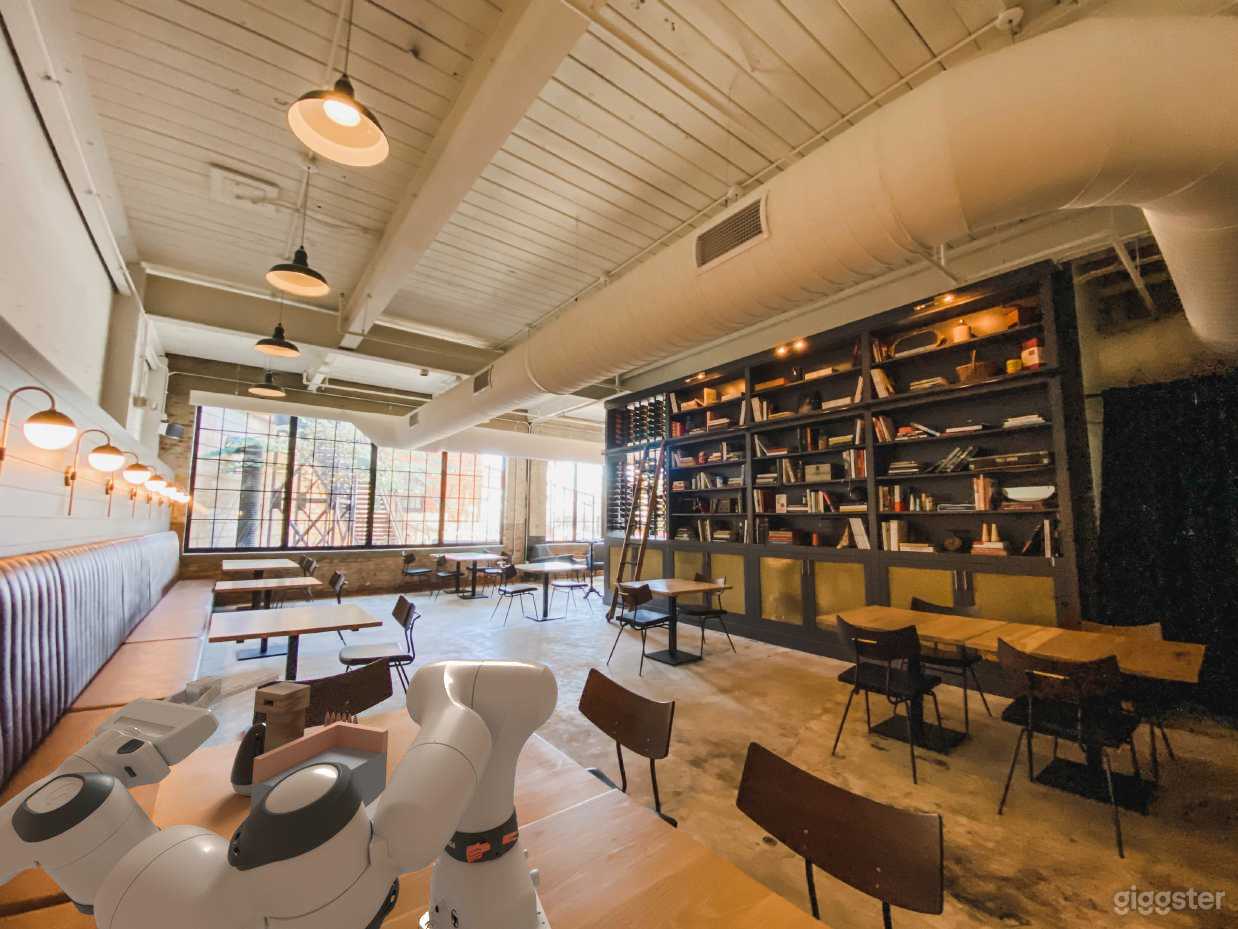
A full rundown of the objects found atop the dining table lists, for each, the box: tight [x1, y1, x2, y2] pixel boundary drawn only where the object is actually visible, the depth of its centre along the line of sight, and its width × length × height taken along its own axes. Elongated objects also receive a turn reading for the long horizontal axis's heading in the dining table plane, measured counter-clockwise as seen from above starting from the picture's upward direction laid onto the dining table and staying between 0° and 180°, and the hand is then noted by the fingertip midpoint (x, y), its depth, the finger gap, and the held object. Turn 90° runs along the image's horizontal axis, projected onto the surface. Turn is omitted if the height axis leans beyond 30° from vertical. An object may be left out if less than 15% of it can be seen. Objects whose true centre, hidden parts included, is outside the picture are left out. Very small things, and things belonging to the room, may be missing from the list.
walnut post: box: [253, 681, 311, 753], centre depth 105 cm, size 8×12×29 cm, turn 70°
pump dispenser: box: [229, 721, 266, 797], centre depth 120 cm, size 10×10×15 cm
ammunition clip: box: [323, 711, 359, 728], centre depth 136 cm, size 11×2×12 cm, turn 77°
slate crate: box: [249, 745, 388, 813], centre depth 97 cm, size 18×14×16 cm
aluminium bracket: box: [185, 673, 280, 706], centre depth 94 cm, size 14×4×4 cm, turn 160°
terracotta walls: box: [252, 721, 389, 783], centre depth 98 cm, size 18×14×4 cm
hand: (206, 688), depth 89 cm, fingers closed on aluminium bracket, 3 cm apart
